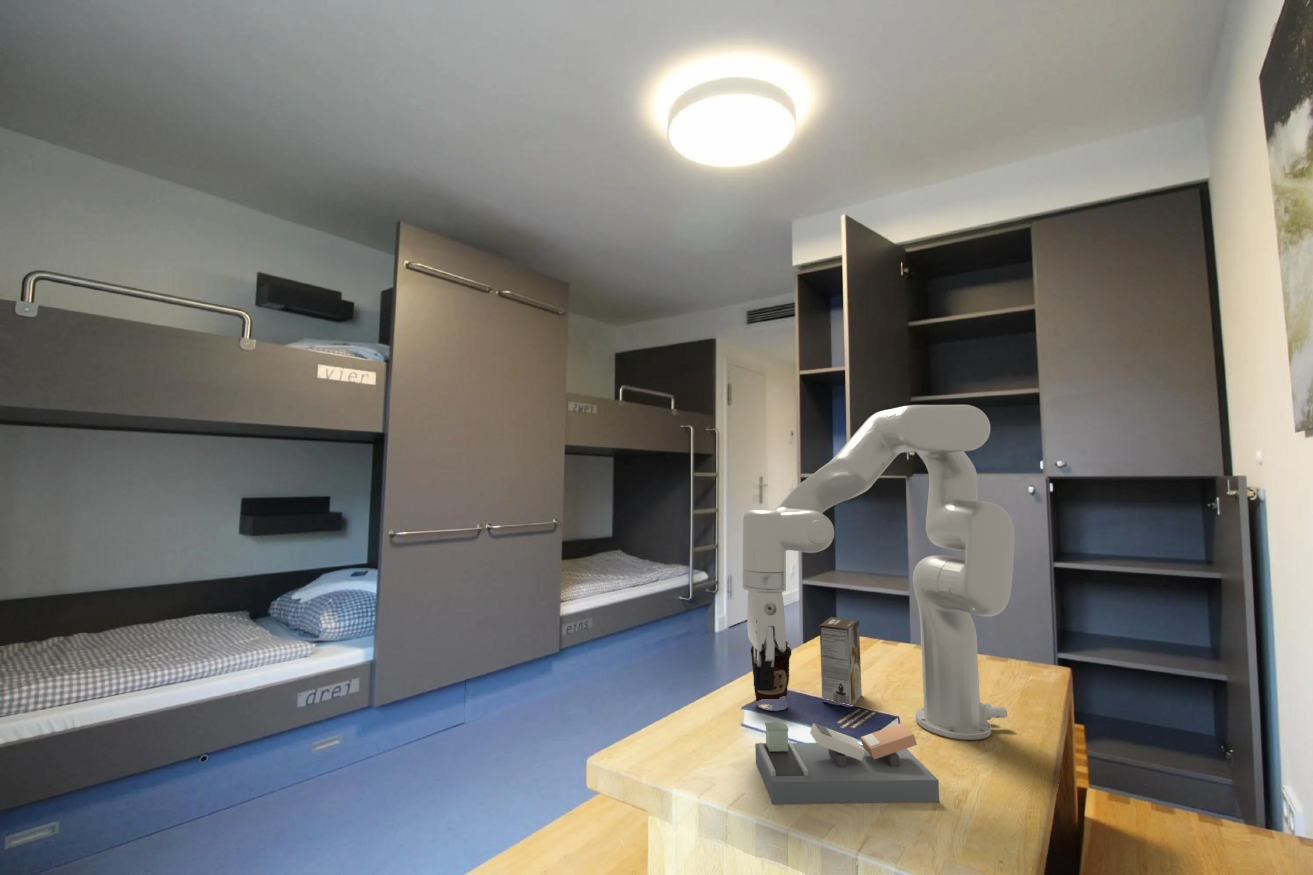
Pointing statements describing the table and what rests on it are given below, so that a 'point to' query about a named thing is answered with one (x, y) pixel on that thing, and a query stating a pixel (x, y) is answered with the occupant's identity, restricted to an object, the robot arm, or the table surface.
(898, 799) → the panel
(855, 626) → the coffee box
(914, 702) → the table surface
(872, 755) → the rocker terracotta
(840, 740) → the rocker cream
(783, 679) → the coffee cup
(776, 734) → the green slider block
